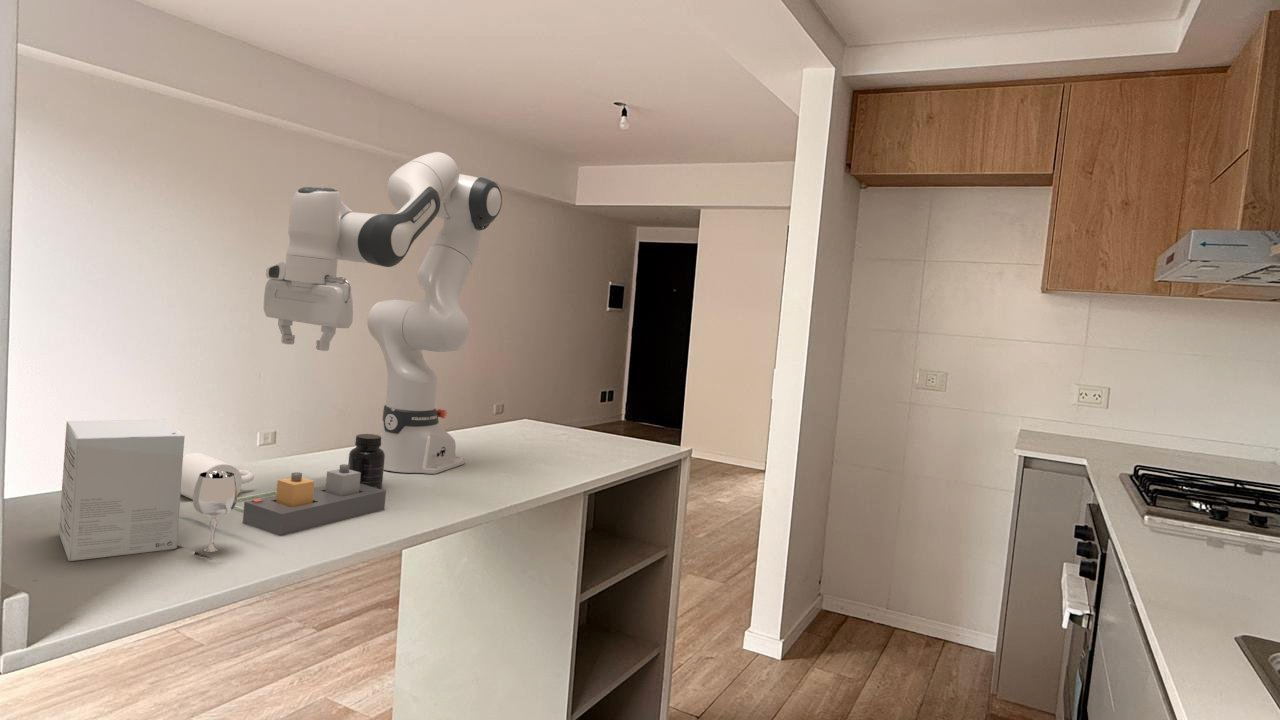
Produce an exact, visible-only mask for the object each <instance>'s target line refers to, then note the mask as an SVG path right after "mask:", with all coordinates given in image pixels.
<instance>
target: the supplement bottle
mask: <svg viewBox="0 0 1280 720" xmlns="http://www.w3.org/2000/svg"><path fill="white" fill-rule="evenodd" d="M354 445H355V446H356V447H353V448H352V449H351V450H350V451H349V454H348V464H347V465H349V469H350V470H353V471H357V472H361V477H360V484H364V485H367V486H371V487H374V488H378V489H381V490H383V480H384V471H385V470H384V460H385V454H384V452H383V450H381V449H380V448H379V447H380V446H381V436H380V435H378V434H373V433H360V434H356V436H355V442H354Z"/></svg>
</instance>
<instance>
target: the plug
mask: <svg viewBox="0 0 1280 720" xmlns="http://www.w3.org/2000/svg"><path fill="white" fill-rule="evenodd" d="M276 483H277V484H276V491H277V494H276V495H275V496H276V502H277V503H280V504H283V505H286V506H289V507H297V506H301V505H306V504H310V503H313V493H314V488H315V480H312V479H308V478H305V477H303V473H302V472H297V471H296V472H292V473H291V476H290V477H287V478H282V479H277V481H276Z"/></svg>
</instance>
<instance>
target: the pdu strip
mask: <svg viewBox="0 0 1280 720" xmlns="http://www.w3.org/2000/svg"><path fill="white" fill-rule="evenodd" d="M325 490H326V485H324V486H323V485H322V486H317V487H314V493H313V503H310V504H306V505H301V506H297V507H289V506H286V505H283V504H280V503H277V502H276V495H271V496H266V497H260V498H255V499H250V500H245V501H243V502H244V504H243V508H244V513H243V515H242V516H243V517H242V524H244V525H248V526H250V527H253V528H256V529H259V530H262V531H265V532H268V533H269V534H273V535H276V536H280V537H282V536H286V535H290V534H294V533H298V532H300V531H301V532H302V531H305V530H309V529H310V530H311V529H314V528H319V527H322V526H325V525H330V524H333V523H337V522H342V521H345V520H348V519H349V520H350V519H353V518H356V517H361V516H366V515H369V514H372V513H373V514H374V513H376V512H380V511H384V510H385V506H386V505H385V504H386V496H387V495H386V493H387V490H385V489H378V488H374V487H371V486H367V485H364V484H360V488H359V493H356V494H352V495H347V496H342V497H340V496H337V495H334V494H330V493H327V492H325Z"/></svg>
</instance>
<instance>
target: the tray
mask: <svg viewBox="0 0 1280 720" xmlns="http://www.w3.org/2000/svg"><path fill="white" fill-rule="evenodd" d="M276 494H277V490H272V491H267V492H262V493H257V494H251V495H250V494H249V495H246V496H245V495H244V496H240V497H237V502H236V503H239V502H246V501H251V500H254V499H261V498H266V497H271V496H276ZM232 510H233V511H237V512H240V513H244V507H241V506H238V505H235V507H234V508H233V509H232Z"/></svg>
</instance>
